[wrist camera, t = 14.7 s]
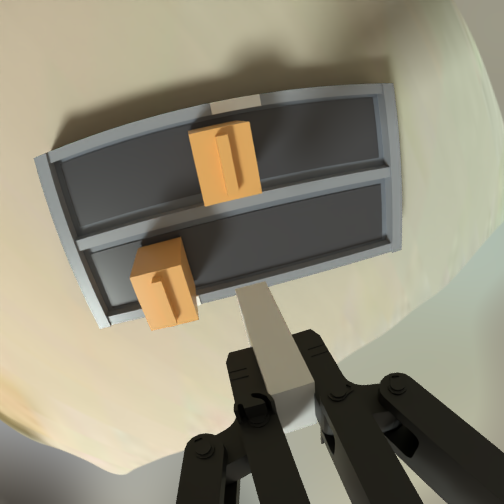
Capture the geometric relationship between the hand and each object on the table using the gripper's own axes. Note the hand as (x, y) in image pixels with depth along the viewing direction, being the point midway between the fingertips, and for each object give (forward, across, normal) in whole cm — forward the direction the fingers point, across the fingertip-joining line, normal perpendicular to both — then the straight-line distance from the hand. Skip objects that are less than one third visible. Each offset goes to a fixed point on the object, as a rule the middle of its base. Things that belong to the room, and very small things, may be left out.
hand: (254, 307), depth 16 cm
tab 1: (+8, -5, -1) cm, 10 cm away
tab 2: (+9, 0, +6) cm, 11 cm away
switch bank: (+11, +1, +3) cm, 11 cm away
